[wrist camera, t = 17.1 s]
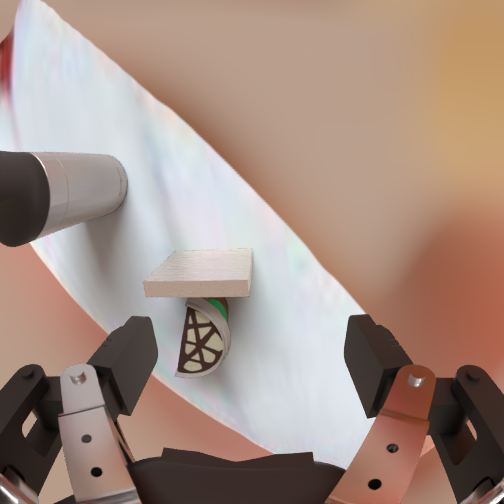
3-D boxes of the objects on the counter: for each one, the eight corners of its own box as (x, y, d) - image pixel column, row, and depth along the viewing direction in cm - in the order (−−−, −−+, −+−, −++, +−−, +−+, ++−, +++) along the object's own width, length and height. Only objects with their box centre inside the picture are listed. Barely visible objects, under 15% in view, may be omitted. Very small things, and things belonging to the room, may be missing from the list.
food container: (226, 349, 44) (218, 390, 34) (189, 339, 43) (174, 378, 34) (244, 281, 40) (239, 314, 31) (203, 271, 40) (186, 300, 31)
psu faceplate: (176, 264, 40) (146, 299, 28) (175, 250, 39) (143, 281, 28) (252, 262, 40) (249, 298, 28) (252, 247, 39) (248, 279, 27)
